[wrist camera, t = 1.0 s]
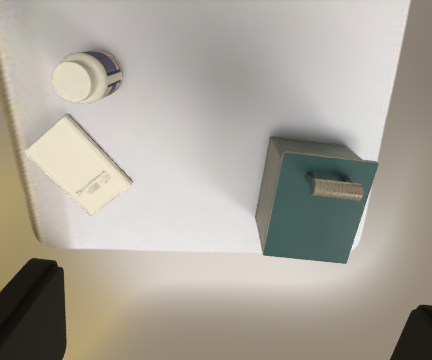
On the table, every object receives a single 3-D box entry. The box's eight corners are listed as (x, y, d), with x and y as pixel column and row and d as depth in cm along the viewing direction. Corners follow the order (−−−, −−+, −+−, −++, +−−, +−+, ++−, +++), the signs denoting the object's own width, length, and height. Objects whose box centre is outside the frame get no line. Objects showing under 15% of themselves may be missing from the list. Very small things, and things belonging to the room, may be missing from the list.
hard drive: (69, 113, 45) (133, 181, 49) (28, 149, 47) (93, 212, 51) (63, 116, 43) (130, 186, 47) (22, 153, 45) (89, 217, 49)
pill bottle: (78, 49, 42) (39, 52, 33) (121, 51, 42) (95, 54, 33) (83, 93, 44) (48, 108, 35) (124, 95, 44) (100, 110, 35)
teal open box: (270, 136, 46) (281, 157, 38) (346, 145, 46) (373, 168, 38) (255, 217, 51) (262, 251, 43) (324, 224, 51) (344, 259, 43)
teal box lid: (282, 150, 37) (292, 166, 33) (375, 161, 38) (397, 178, 33) (262, 251, 43) (267, 277, 38) (344, 260, 43) (359, 286, 38)
